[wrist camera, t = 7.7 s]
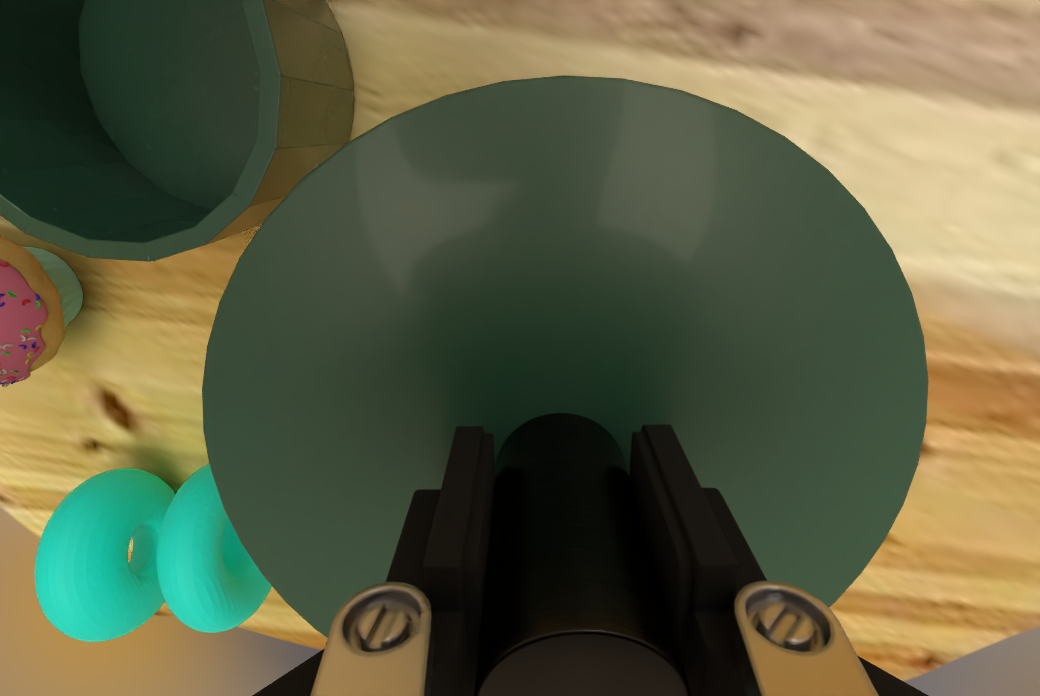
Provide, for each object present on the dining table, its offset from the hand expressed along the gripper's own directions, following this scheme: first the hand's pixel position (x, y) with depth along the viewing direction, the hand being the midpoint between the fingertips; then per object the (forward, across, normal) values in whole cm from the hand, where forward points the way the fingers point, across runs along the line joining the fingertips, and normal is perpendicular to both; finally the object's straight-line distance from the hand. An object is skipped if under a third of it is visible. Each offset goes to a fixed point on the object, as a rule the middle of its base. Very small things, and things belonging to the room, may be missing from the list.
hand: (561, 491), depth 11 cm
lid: (+1, 0, 0) cm, 1 cm away
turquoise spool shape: (+23, +23, +16) cm, 36 cm away
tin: (+22, +17, -10) cm, 30 cm away
